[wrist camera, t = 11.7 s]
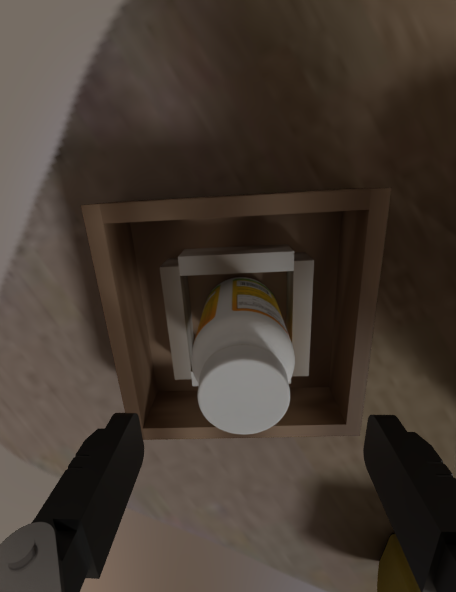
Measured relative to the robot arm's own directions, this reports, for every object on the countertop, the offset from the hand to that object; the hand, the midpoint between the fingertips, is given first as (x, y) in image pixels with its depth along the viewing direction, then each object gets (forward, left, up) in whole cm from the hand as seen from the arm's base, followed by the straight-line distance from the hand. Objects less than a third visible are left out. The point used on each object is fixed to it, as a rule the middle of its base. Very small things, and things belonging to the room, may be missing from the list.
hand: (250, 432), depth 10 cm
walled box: (0, 0, -13) cm, 13 cm away
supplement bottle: (0, 0, -12) cm, 12 cm away
